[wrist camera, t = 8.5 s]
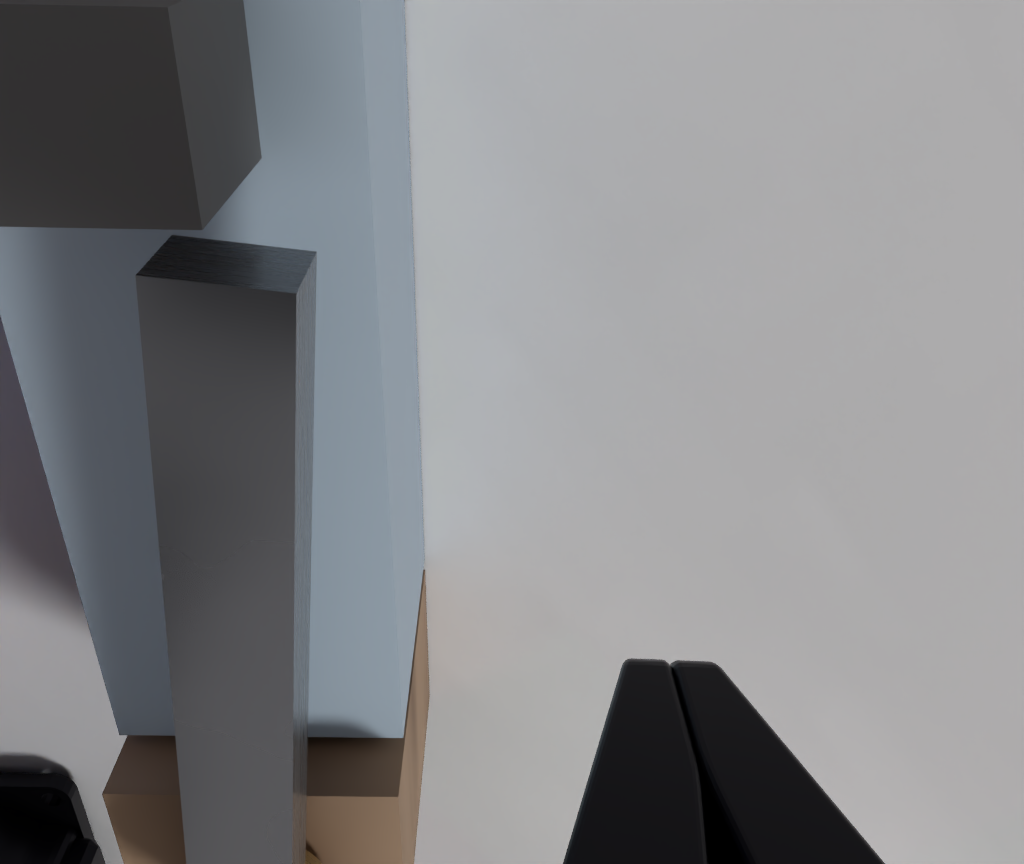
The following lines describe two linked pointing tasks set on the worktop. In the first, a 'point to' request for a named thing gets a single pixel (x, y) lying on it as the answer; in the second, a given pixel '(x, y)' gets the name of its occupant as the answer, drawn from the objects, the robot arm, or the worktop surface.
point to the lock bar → (234, 533)
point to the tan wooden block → (330, 788)
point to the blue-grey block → (228, 217)
